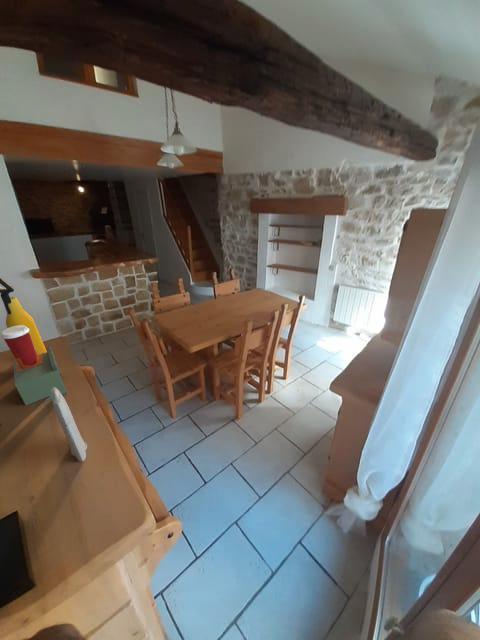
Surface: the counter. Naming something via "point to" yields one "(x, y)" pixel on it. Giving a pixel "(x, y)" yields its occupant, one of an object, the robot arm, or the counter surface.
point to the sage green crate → (38, 378)
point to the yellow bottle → (24, 318)
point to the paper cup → (20, 345)
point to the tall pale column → (68, 425)
